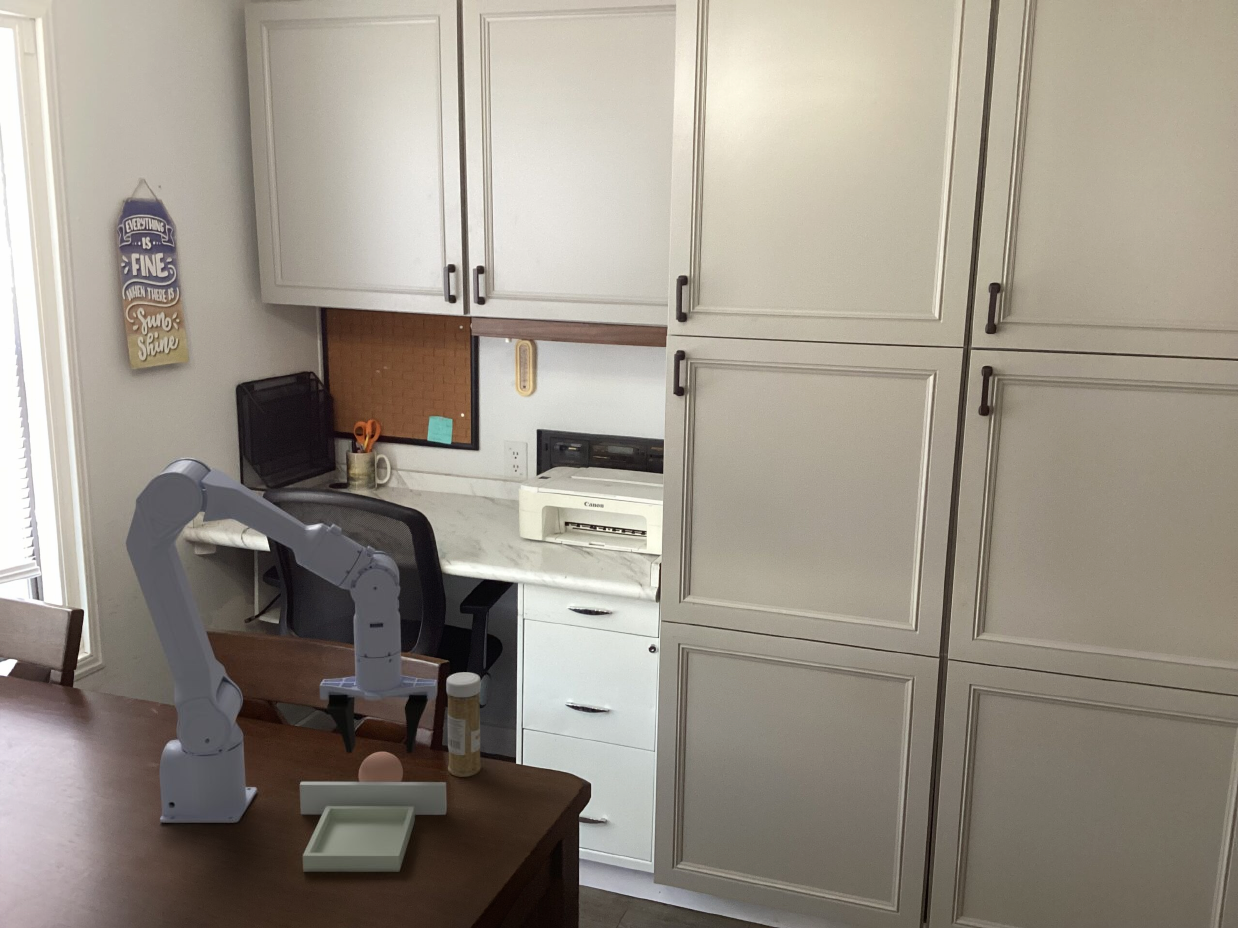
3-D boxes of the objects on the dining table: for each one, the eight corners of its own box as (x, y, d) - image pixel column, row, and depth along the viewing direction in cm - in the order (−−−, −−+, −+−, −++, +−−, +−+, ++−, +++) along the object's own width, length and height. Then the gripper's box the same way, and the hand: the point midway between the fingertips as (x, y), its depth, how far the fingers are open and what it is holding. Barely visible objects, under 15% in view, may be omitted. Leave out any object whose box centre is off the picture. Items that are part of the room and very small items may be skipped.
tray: (303, 871, 116) (302, 855, 116) (326, 820, 127) (326, 805, 126) (399, 871, 116) (398, 855, 116) (414, 820, 127) (414, 806, 127)
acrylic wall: (300, 814, 128) (299, 784, 127) (302, 810, 129) (301, 781, 128) (445, 814, 129) (445, 785, 128) (446, 811, 129) (446, 782, 129)
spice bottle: (486, 772, 139) (486, 679, 137) (455, 781, 137) (455, 686, 134) (472, 758, 143) (471, 668, 141) (441, 767, 141) (440, 674, 138)
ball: (354, 804, 130) (353, 764, 129) (364, 782, 136) (363, 743, 135) (399, 804, 131) (398, 764, 130) (406, 783, 136) (405, 743, 135)
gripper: (311, 661, 125) (316, 764, 128) (430, 661, 126) (432, 764, 128) (325, 640, 132) (329, 738, 135) (438, 641, 133) (440, 738, 135)
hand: (380, 749), depth 132 cm, fingers open, 7 cm apart
